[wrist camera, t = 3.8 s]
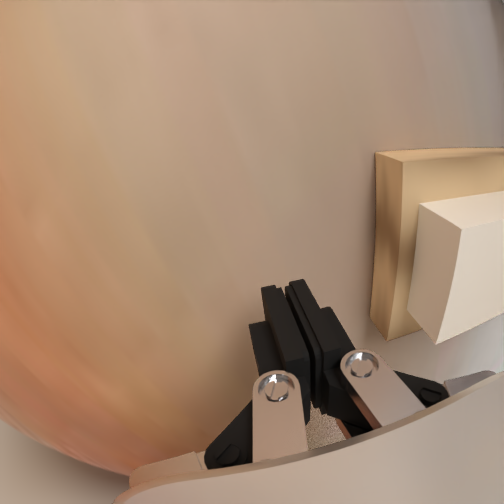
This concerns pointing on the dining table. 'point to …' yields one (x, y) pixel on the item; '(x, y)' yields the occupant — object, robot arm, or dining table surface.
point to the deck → (406, 217)
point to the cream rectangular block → (458, 264)
